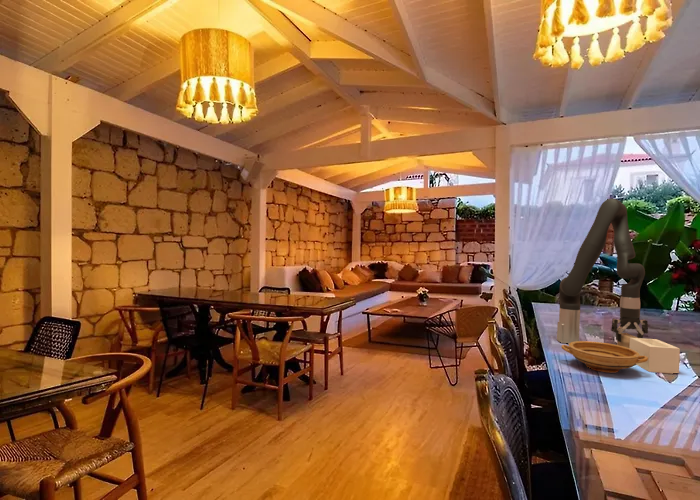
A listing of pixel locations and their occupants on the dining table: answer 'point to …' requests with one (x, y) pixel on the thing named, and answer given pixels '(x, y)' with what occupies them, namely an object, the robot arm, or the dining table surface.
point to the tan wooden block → (625, 340)
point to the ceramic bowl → (604, 355)
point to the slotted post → (656, 355)
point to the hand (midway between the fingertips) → (629, 342)
